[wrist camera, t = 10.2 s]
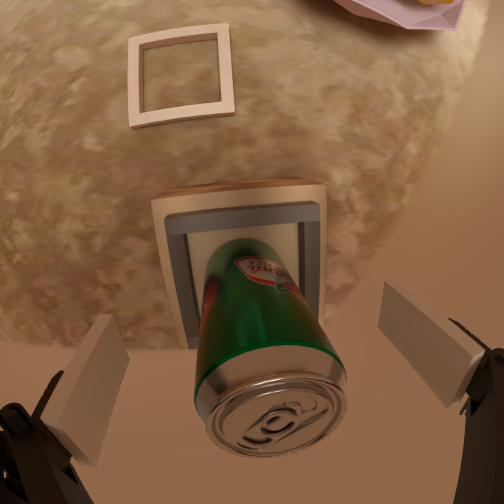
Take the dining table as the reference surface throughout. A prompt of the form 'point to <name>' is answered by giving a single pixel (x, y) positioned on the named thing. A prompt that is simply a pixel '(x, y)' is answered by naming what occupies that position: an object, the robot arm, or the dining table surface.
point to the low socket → (183, 112)
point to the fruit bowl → (409, 12)
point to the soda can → (263, 358)
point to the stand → (239, 238)
